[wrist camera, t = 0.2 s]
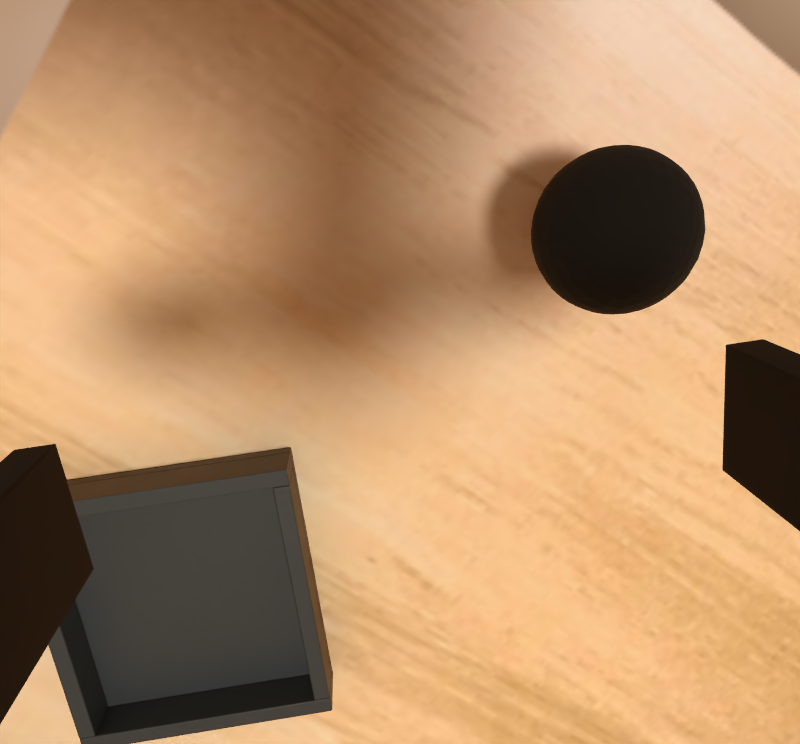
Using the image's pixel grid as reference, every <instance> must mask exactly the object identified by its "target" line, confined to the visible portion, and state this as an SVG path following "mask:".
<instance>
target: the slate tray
mask: <svg viewBox="0 0 800 744" xmlns="http://www.w3.org/2000/svg"><path fill="white" fill-rule="evenodd" d="M67 483H68V486H69V490H70V493H71V496H72V499H73V503H74V506H75V509H76V512H77V516H78V519H79V522H80V525H81V529H82V532H83V535H84V538H85V542H86V545H87V548H88V551H89V555H90V558H91V561H92V564H93V568H94V569H93V571H92V573H91V574H90V576H89V578H88V579H87V581H86V583H85V584H84V586H83V588H82V589H81V591H80V593H79V594H78V596H77V598H76V599H75V601H74V602H73V604H72V606H71V607H70V609H69V611H68V612H67V614H66V616H65V617H64V619H63V621H62V622H61V624H60V626H59V627H58V629H57V631H56V632H55V634H54V636H53V637H52V639H51V641H50V642H49V644H48V645H49V648H50V651H51V654H52V657H53V660H54V663H55V666H56V669H57V672H58V675H59V678H60V681H61V684H62V687H63V690H64V693H65V696H66V699H67V702H68V705H69V708H70V711H71V714H72V717H73V720H74V723H75V726H76V729H77V732H78V735H79V738H80V741H81V744H131V743H137V742H143V741H149V740H155V739H161V738H167V737H173V736H179V735H185V734H192V733H198V732H204V731H210V730H216V729H222V728H228V727H234V726H240V725H246V724H252V723H259V722H265V721H271V720H277V719H283V718H289V717H295V716H301V715H307V714H313V713H319V712H326V711H331V710H332V689H333V673H332V667H331V662H330V656H329V651H328V646H327V640H326V635H325V630H324V624H323V619H322V613H321V608H320V603H319V597H318V592H317V586H316V581H315V576H314V570H313V565H312V560H311V554H310V549H309V543H308V538H307V533H306V527H305V522H304V516H303V511H302V506H301V500H300V495H299V489H298V484H297V479H296V473H295V468H294V463H293V457H292V452H291V448H286V449H279V450H272V451H265V452H258V453H251V454H245V455H238V456H231V457H224V458H217V459H211V460H204V461H197V462H190V463H183V464H176V465H170V466H163V467H156V468H149V469H142V470H135V471H129V472H122V473H115V474H108V475H101V476H95V477H88V478H81V479H74V480H67Z"/></svg>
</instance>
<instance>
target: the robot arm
mask: <svg viewBox="0 0 800 744" xmlns="http://www.w3.org/2000/svg"><path fill="white" fill-rule="evenodd" d="M723 471H725V472H726V473H727V474H728V475H730V476H731V477H732V478H733V479H735V480H736V481H737V482H738V483H740V484H741V485H742V486H744V487H745V488H746V489H747V490H749V491H750V492H751V493H752V494H754V495H755V496H756V497H757V498H759V499H760V500H761V501H762V502H764V503H765V504H766V505H767V506H769V507H770V508H771V509H773V510H774V511H775V512H776V513H778V514H779V515H780V516H781V517H783V518H784V519H785V520H786V521H788V522H789V523H790V524H791V525H793V526H794V527H795V528H796V529H798V530H799V531H800V354H798V353H795V352H793V351H790V350H788V349H785V348H783V347H780V346H778V345H776V344H773V343H771V342H768V341H766V340H756V341H749V342H742V343H736V344H729V345H726V366H725V402H724V439H723ZM93 569H94V568H93V564H92V561H91V558H90V555H89V551H88V548H87V545H86V542H85V538H84V535H83V532H82V529H81V525H80V522H79V519H78V516H77V512H76V509H75V506H74V503H73V499H72V496H71V493H70V490H69V486H68V483H67V480H66V477H65V473H64V470H63V467H62V464H61V460H60V457H59V454H58V451H57V448H56V444H52V445H45V446H38V447H31V448H25V449H18V450H14V451H13V452H11V453H10V454H9V455H8V456H7V457H6V458H5V459H3V460H2V461H1V462H0V724H1V722H2V720H3V719H4V717H5V715H6V714H7V712H8V710H9V709H10V707H11V706H12V704H13V702H14V701H15V699H16V697H17V696H18V694H19V692H20V691H21V689H22V687H23V686H24V684H25V682H26V681H27V679H28V677H29V676H30V674H31V672H32V671H33V669H34V667H35V666H36V664H37V662H38V661H39V659H40V657H41V656H42V654H43V652H44V651H45V649H46V647H47V646H48V644H49V642H50V641H51V639H52V637H53V636H54V634H55V632H56V631H57V629H58V627H59V626H60V624H61V622H62V621H63V619H64V617H65V616H66V614H67V612H68V611H69V609H70V607H71V606H72V604H73V602H74V601H75V599H76V598H77V596H78V594H79V593H80V591H81V589H82V588H83V586H84V584H85V583H86V581H87V579H88V578H89V576H90V574H91V573H92V571H93Z"/></svg>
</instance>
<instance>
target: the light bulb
mask: <svg viewBox="0 0 800 744" xmlns="http://www.w3.org/2000/svg"><path fill="white" fill-rule="evenodd" d="M704 234H705V219H704V209H703V204H702V200H701V198H700V195H699V192H698V190H697V188H696V186H695V184H694V182H693V181H692V179H691V178H690V177H689V175H688V174H687V173H686V172H685V171H684V170H683V169H682V168H681V167H680V166H679V165H678V164H676V163H675V162H674V161H672V160H671V159H669V158H668V157H666V156H665V155H663V154H661V153H659V152H657V151H654V150H652V149H649V148H645V147H640V146H632V145H615V146H608V147H603V148H598V149H596V150H593V151H590V152H588V153H586V154H584V155H582V156H580V157H578V158H576V159H575V160H573V161H572V162H570V163H569V164H567V165H566V166H565V167H564V168H562V169H561V170H560V171H559V172H558V173H557V174H556V175H555V176H554V177H553V178H552V179H551V181H550V182H549V183H548V185H547V186H546V188H545V189H544V191H543V193H542V194H541V196H540V198H539V200H538V203H537V206H536V209H535V212H534V215H533V221H532V228H531V243H532V250H533V254H534V258H535V261H536V264H537V266H538V268H539V270H540V272H541V274H542V275H543V277H544V279H545V280H546V282H547V283H548V284H549V285H550V287H551V288H552V289H553V290H554V291H555V292H556V293H557V294H558V295H559V296H560V297H562V298H563V299H565V300H566V301H568V302H569V303H571V304H573V305H575V306H577V307H580V308H582V309H585V310H588V311H591V312H595V313H601V314H625V313H630V312H634V311H638V310H642V309H644V308H647V307H650V306H652V305H654V304H656V303H658V302H659V301H661V300H663V299H664V298H666V297H667V296H668V295H670V294H671V293H672V292H673V291H674V290H675V289H676V288H678V287H679V286H680V285H681V284H682V283H683V282H684V280H685V279H686V278H687V276H688V275H689V273H690V271H691V270H692V268H693V266H694V265H695V263H696V261H697V260H698V257H699V254H700V251H701V248H702V245H703V240H704Z"/></svg>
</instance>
